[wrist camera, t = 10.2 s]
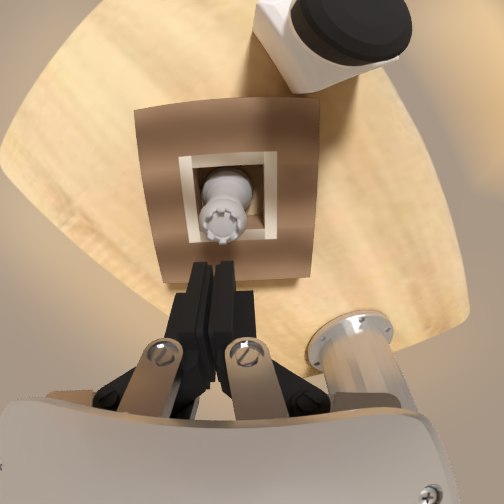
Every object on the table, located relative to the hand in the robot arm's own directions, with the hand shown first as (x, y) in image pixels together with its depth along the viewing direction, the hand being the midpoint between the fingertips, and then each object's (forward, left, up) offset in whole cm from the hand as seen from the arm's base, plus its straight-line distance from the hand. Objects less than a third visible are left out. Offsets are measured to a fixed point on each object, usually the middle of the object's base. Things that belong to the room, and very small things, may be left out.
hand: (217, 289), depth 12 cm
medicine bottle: (+13, -7, -15) cm, 21 cm away
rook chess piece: (0, 0, -15) cm, 15 cm away
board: (0, 0, -15) cm, 15 cm away
